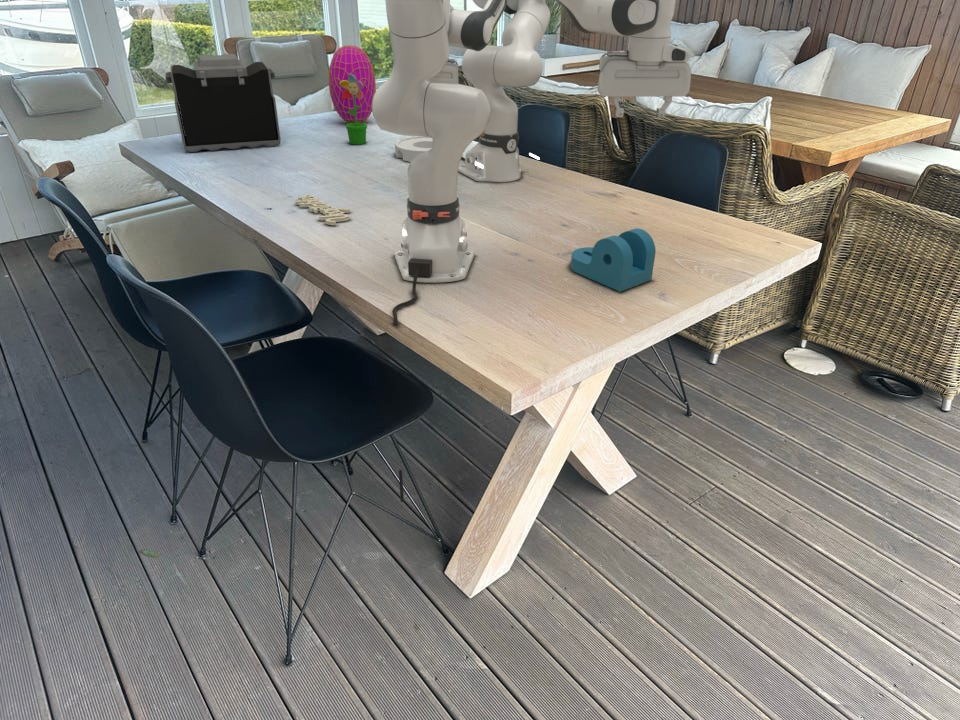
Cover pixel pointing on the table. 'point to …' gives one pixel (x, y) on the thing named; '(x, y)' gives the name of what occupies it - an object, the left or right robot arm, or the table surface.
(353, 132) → the potted flower
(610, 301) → the table surface
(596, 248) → the camera mount
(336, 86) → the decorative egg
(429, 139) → the ashtray
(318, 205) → the decorative sign
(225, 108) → the electronic device
